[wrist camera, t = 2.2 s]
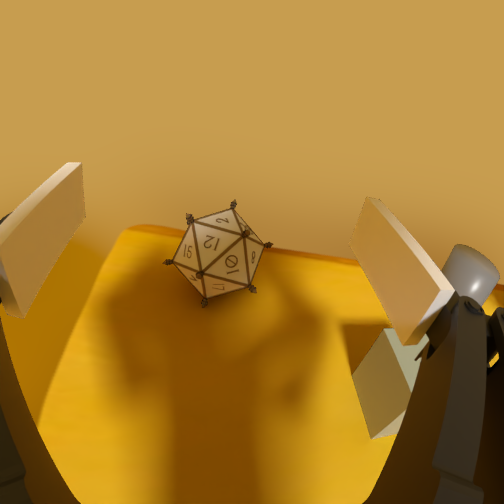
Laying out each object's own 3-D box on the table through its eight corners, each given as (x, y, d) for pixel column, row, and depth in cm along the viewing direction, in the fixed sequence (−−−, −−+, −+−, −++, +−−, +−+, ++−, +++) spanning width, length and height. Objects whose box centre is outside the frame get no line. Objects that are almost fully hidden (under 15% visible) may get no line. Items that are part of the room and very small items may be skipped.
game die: (210, 300, 33) (237, 211, 33) (270, 327, 27) (301, 219, 27) (138, 287, 26) (170, 180, 27) (190, 320, 20) (232, 180, 21)
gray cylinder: (464, 343, 27) (508, 282, 22) (429, 349, 26) (476, 280, 21) (442, 307, 32) (477, 247, 27) (406, 308, 31) (443, 241, 26)
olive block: (429, 424, 19) (474, 385, 15) (370, 439, 18) (414, 401, 15) (406, 369, 24) (441, 325, 20) (351, 376, 23) (383, 328, 19)
